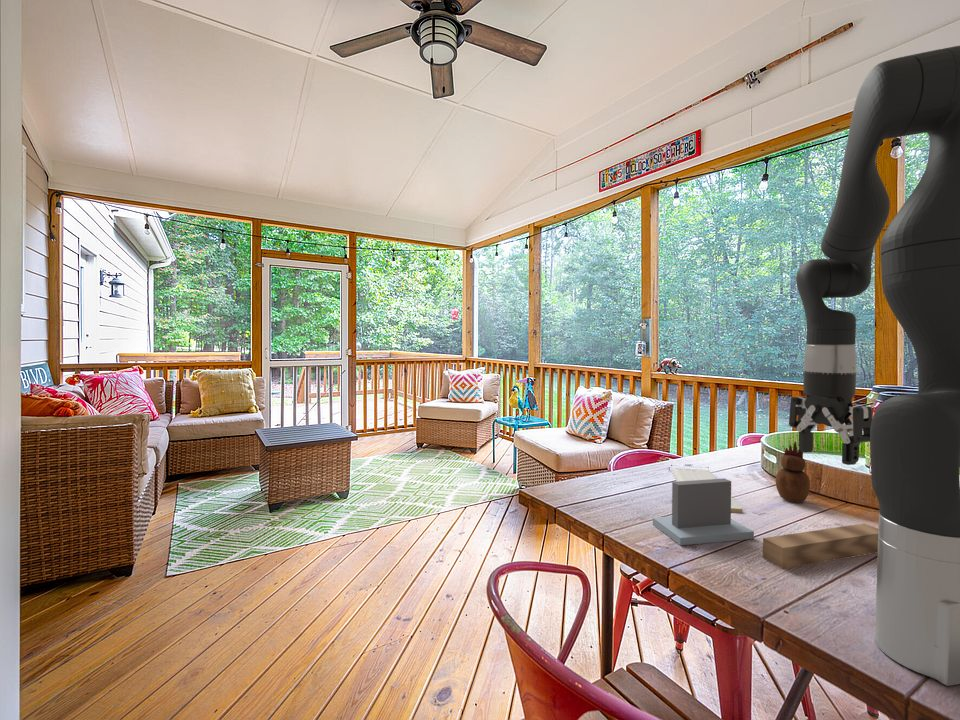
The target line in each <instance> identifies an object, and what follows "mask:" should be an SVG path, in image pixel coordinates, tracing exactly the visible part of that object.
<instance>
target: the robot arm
mask: <svg viewBox="0 0 960 720" xmlns="http://www.w3.org/2000/svg"><path fill="white" fill-rule="evenodd" d="M857 93H858V94H857V96H856V99H855V103H854V107H853V111H852V113H851V114H852V115H851V120H850V125H849V131H848V134H847V140H846V145H845V151H844V156H843V161H842V168H841V171H840V172H841V173H840V178H839V179H840V180H839V185H838V186H839V187H838V191H837V195H836V199H835V202H834V207H833V210H832V212H831V215H830V217H829V220H828V223H827V226H826V227H825V230H824V234H823V236H822V240H821V243H820V249H821V252H822V253H823V255H824V256H826V258H818V259H816V258H815V259H809V260H807V261H805V262H804V263H802V264H801V265H800V267H799V268H798V270H797V272H796V276H795V284H796V287H797V291H798V294H799V297H800V300H801V303H802V307H803V311H804V315H805V320H806V335H805V336H806V340H805V343H806V345H805V351H804V356H803V387H802V388H803V389H802V391H803V394H805V395H806V396H792V397H791V398H790V404H789V418H788V419H789V421H788V426H789V427H791V428H795V429H796V431H797V432H798V449H799V448H800V451H801V452H803V453H812V452H813V451H814V433H813V430H814V429H815V428H816V427H817V426H818V425H825V426H827V427H832V429H833V430H834V431H835V432H836V433H838V434H839V435H840V438H841V439H842V440H843V442H842V445H841V446H842V447H841V449H842V450H841V452H842V453H841V463H842V464H843V465H847V466H851V465H856V464H857V463H858V462H859V460H860V455H859V454H860V445H861V444H862V443H869V447H870V473H871V474H870V478H871V479H870V480H871V486H872V490H873V492H874V495H875V497H876V498H877V500H878V528H877V529H878V553H877V561H876V562H877V563H876V565H877V566H876V593H875V594H876V595H875V599H876V600H875V601H876V602H875V629H874V631H875V633H874V635H875V636H874V639H875V641H874V642H875V643H876V645H877V647H878V648H879V649H880V650H881V651H882V652H883V653H884V654H885V655H886V656H888V657H889V658H890V659H891V660H893V661H895V662H896V663H898V664H900V665H902V666H904V667H905V668H907V669H910V670H911V671H914V672H916V673H918V674H921V675H923V676H927V677H929V678H932V679H934V680H937V681H938V682H940V683H941V684H943V685H945V686H947V687H948V686H949V687H950V686H955V685H956V686H957V685H960V45H954V46H950V47H944V48H939V49H934V50H929V51H923V52H918V53H914V54H909V55H905V56H900V57H897V58H891V59H889V60H884V61H882V62H879V63H878V64H876V65H875V66H873V68H872V69H871V70H869V72H868V73H867V75H865V77H864V79H863V81H862V83H861V85H860V88H859V91H858V92H857ZM925 133H927V134H928V137H929V139H928V141H929V151H928V158H927V160H926V161H927V162H926V165H925V166H926V167H925V169H924V171H923V173H922V176H921V178H920V180H919V181H918V183H917V185H916V186H915V188H914V189H913V191H912V192H911V194H910V195H909V196H908V198H907V199H906V201H905V202H904V203H903V205H902V206H901V208H900V209H899V210H898V212H897V213H896V214H895V216H894V217H893V219H892V221H891V222H890V223H889V224H888V226H887V228H886V230H885V232H884V234H883V236H882V239H881V242H880V268H881V269H880V271H881V273H880V274H881V285H882V290H883V295H884V297H885V299H886V303H888V306H889V308H890V310H891V312H892V314H893V315H894V316H895V319H897V321H898V323H899V325H900V326H901V328H902V329H903V332H904V333H905V334H906V336H907V338H908V339H909V341H910V343H911V345H912V348H913V350H914V354H915V357H916V363H917V365H916V366H917V374H918V376H917V377H918V386H917V387H918V391H917V393H910V394H909V393H908V394H900V395H895V396H892V397H889V398H888V399H886V400H884V401H883V402H882V403H880V404H879V406H878V407H877V408H876V409H875V411H874V413H873V409H872V407H871V406H868V405H867V406H854V404H853V398H854V397H855V396H856V391H857V389H856V388H857V387H856V386H857V359H858V358H857V357H858V356H857V352H856V336H857V335H856V334H857V332H856V329H857V319H856V318H857V317H856V315H855V314H854V313H852V312H850V311H845V310H838V309H833V308H830V307H828V306H827V304H826V303H825V301H824V299H836V298H837V299H838V298H853V297H857V296H859V295H861V294H863V293H864V292H865V291H866V290H867V289H868V288H869V286H870V284H871V281H872V259H873V253H874V250H875V245H876V243H877V241H878V239H879V237H880V235H881V233H882V231H883V228H884V227H885V225H886V222H887V220H888V217H889V215H890V214H889V213H890V209H891V207H890V204H891V202H890V197H889V194H888V191H887V189H886V186H885V184H884V182H883V181H882V180H883V179H882V178H881V176H880V174H879V171H878V168H877V159H876V158H877V154H878V151H879V148H880V147H881V144H882V142H883V141H884V140H888V139H894V138H899V137H906V136H912V135H920V134H925Z"/></svg>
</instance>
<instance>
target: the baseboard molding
mask: <svg viewBox="0 0 960 720" xmlns="http://www.w3.org/2000/svg"><path fill="white" fill-rule="evenodd" d="M670 466H671V467H673V466H674V467H675V466H676V465H672V464H671V465H670ZM671 467H668V471H670V473H671V474H672V476H673V477H674V480H675V482H679V481H694V480H708V479H717V478H716V477H715V475H713V473H712V472H711V471H710V470H709V466H704V468H707V469H698V468H695V469H691V468H693V465H692V464H684V467H691V468H689V469H688V468H679V467H676V468H675V469H671ZM731 513H740V514H741V513H743V508H742V507H741V506H740V505H739V503H738V502H737V501H736V500H735V499H734V498H733V497H732V496H731Z"/></svg>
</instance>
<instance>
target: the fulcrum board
mask: <svg viewBox="0 0 960 720" xmlns="http://www.w3.org/2000/svg"><path fill="white" fill-rule="evenodd" d="M671 485H672V486H671V488H672V489H671V492H672V493H671V515H669V516H657V517H656V516H655V517H652V525H653V526H654V527H655V526H656V527H655V528H657V529H658V530H659V529H660V530H659V531H661V532H662V533H663V532H664V534H665V535H666V534H667V535H668V536H667V535H666V536H667V537H668V538H670V539H671V538H672V539H673V541H674V542H675V543H676V542H677V543H676V544H678V545H679V546H689V545H698V544H699V545H700V544H701V545H702V544H709V543H711V544H712V543H721V542H732V541H733V542H734V541H743V540H752V539H755V538H754V537H755V531H754V530H752V529H750V528H749V527H746V526H745V525H743V524H742V523H740V522H738V521H737V520H734V519H733V518H731V517H732V512H731V497H732V481H731V480H729V479H727V478H725V477H724V478H716V479H708V480H694V481H679V482H677V481H672V483H671ZM672 539H671V540H672Z"/></svg>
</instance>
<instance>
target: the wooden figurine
mask: <svg viewBox="0 0 960 720" xmlns="http://www.w3.org/2000/svg"><path fill="white" fill-rule="evenodd" d="M784 449H785V450H784V452H783V455H782V457H781V458H780V463H781V467H782V468H781V469H779V470H778V471H777V473H776V474H775V486H776V489H777V493H778V494H779V497H780V498H782V499H783V500H785V501H786V502H790V501H791V503H798V504H799V503H804V502H805V500H806V499H807V498H808V497H809V493H810V489H811V488H810V487H811V479H810V477H809V475H808V474H807V473H806V472H805V471H804V470H805V468H806V460H805V459H804V452H801V451H800V448H799V447H797V442H796V441H794V443H793V448H792V445H789V447H788V448H787V447H786V448H784Z"/></svg>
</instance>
